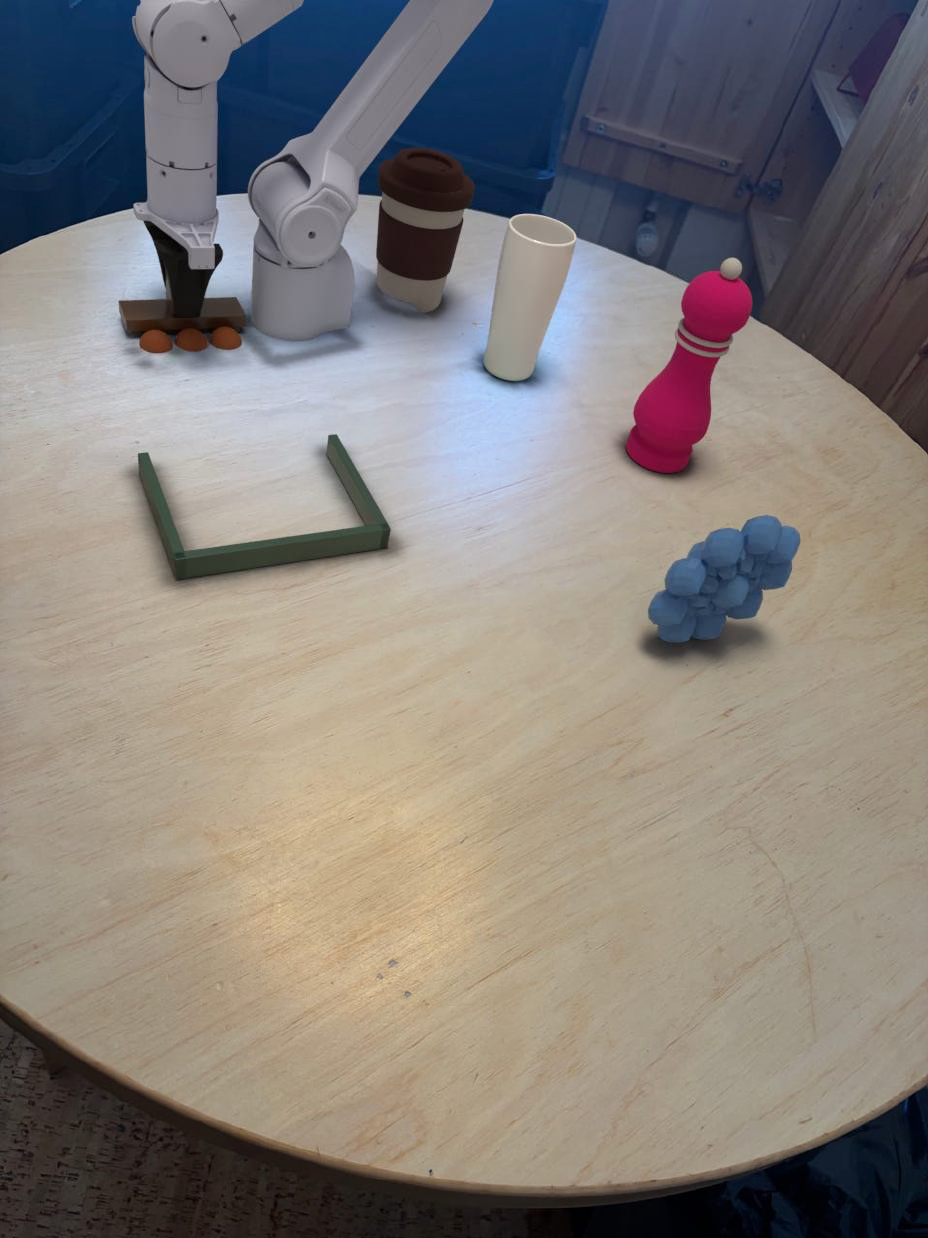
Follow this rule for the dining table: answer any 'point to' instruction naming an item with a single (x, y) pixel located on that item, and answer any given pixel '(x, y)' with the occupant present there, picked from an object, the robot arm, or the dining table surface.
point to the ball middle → (191, 340)
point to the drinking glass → (526, 292)
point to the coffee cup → (419, 224)
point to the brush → (163, 317)
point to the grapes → (723, 579)
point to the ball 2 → (225, 338)
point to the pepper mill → (689, 371)
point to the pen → (278, 548)
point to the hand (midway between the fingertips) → (183, 306)
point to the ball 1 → (156, 342)
